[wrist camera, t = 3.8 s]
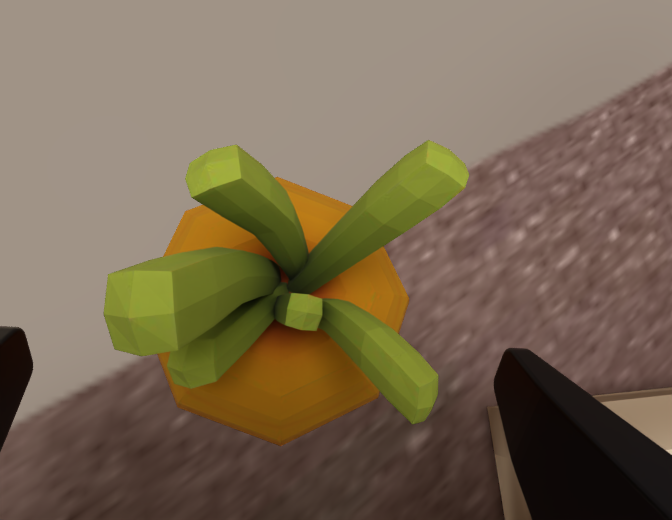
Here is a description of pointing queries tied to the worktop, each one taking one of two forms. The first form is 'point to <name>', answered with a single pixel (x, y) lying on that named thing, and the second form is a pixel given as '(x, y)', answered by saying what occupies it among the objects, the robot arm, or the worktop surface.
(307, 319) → the carrot
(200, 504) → the worktop surface
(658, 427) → the socket board
